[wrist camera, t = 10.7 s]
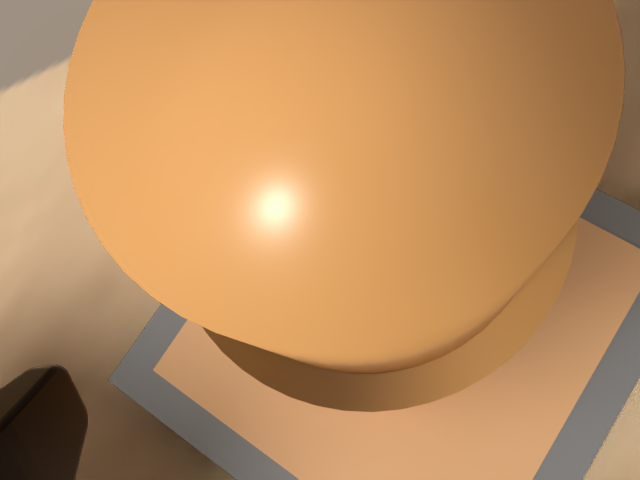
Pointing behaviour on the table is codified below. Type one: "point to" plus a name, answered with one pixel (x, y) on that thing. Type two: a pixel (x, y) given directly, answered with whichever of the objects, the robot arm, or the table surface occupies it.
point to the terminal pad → (432, 418)
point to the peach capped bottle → (346, 176)
